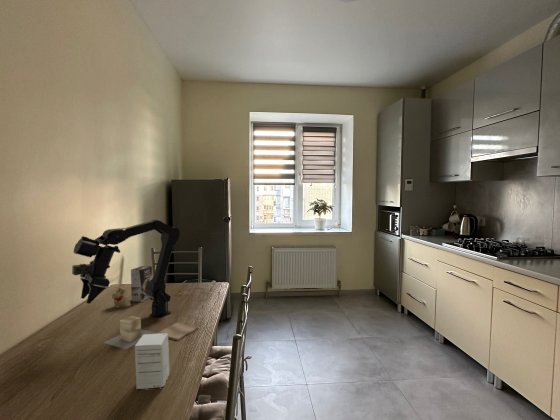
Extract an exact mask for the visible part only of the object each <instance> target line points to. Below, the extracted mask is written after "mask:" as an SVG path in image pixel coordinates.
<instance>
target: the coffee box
mask: <svg viewBox="0 0 560 420" xmlns="http://www.w3.org/2000/svg"><path fill="white" fill-rule="evenodd" d="M152 278H153V265H142V266H138V267H136V268H135V267H134V268H133V269H130V282H131V283H130V287H131V288H130V289H131V290H130V291H131V293H130V294H131V301H132V302H140V303H142V302H145V301H147V300H148V299H150V297H148V296H147V294H146V290H145V288H146V286H147V281H148V280H149V281H151V280H152Z"/></svg>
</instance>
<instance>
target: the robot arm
mask: <svg viewBox="0 0 560 420" xmlns="http://www.w3.org/2000/svg"><path fill="white" fill-rule="evenodd" d="M150 231H151V232H152V231H156V232H157V233H159V234H160V235H161V236H160V241H161V248H160V252H159V256H158V259H157V263H156V267H155V269H154V275H153V276H152V280H151V281H149V280H148V281H147V286H146V288H145V290H146V294H147V296H148V297H150V298H149V299H150V300H151V301H152V302H151V313H150V314H149V316H151V317H155V318H162V317H165V316H166V315H169V314H171V313H172V312H171V311H169V302H170V300H171V297H172V296H170V295H169V293H167V292H166V286H167V285H166V280H165V279H166V276H167V271H168V267H169V264H170V260H171V257H172V253H173V248H174V247H175V246H176V244H177V243H178V241H179V239H180V237H181V231H180V229H179V228H178V227H174V226H171V225H169V224H166V223H164V222H162V221H161V220H159V219H151V220H149V221H145V222H142V223H139V224H136V225H131V226H127V227H122V228H119V227H118V228H109V229H106V230H104V231H103V233H102V235H100V236H98V237H96V238H95V239H92V238H89V237H87V236H84V235H81V237H80V239H79V240H78V241H77V242H76V243H75V245H74V248H73V254H76V255H80V256H83V257H87V258H92V257H94V258H93V260H90V262H89V263H87V264H86V263H79V264H75V265H72V268H71V270H72V272H71V274H72V275H74V276H79V277H80V281H81V283H82V289H81V297H80V299H82V300H83V299H85V298H87V299H86V304H88V305H90V304H92V302H93V301H94V300H95V299H96V298H97V297H98V296H99V295H100V294H101V293H103V292H104V290H106V289H107V288H109V286H110V283H111V281H110V280H109V279H108V278H107V276H106V273H107V270H108V269H110V267H111V265H110V263H111V261H112V259H113V256H114V254H115V253H118V254H120V253H121V250H120V248H119V244H121V243H123V242H126V241H127V240H128V239H129V238H131V237H134V236H139V235H142V234H145V233H148V232H150ZM102 245H103V246H102ZM112 245H113V246H112Z"/></svg>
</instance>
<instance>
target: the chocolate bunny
mask: <svg viewBox="0 0 560 420" xmlns="http://www.w3.org/2000/svg"><path fill="white" fill-rule="evenodd" d="M125 291H126V289H125V288H124V287H123V286H119V288H117V289H116V291H115V292H113V293H112V296H111V297H112V299H113V304H114V308H117V309H125V308H130V307H132V304H131V301H130V300H129V298H127V297H125V296H124V294H125Z"/></svg>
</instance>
